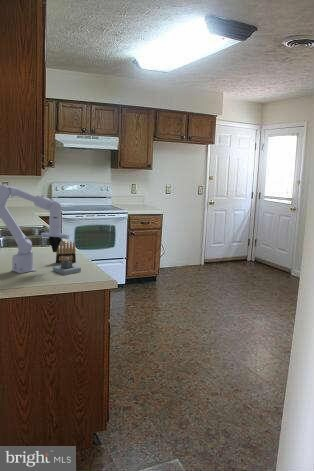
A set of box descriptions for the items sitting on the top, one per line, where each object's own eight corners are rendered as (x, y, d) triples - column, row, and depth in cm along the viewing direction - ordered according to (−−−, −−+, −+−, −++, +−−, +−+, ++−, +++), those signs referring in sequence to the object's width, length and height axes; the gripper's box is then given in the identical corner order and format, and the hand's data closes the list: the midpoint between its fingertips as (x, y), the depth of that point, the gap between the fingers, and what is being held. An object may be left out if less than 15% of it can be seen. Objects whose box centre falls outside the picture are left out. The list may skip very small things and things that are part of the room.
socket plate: (64, 274, 202) (64, 270, 202) (52, 270, 209) (52, 266, 208) (80, 271, 210) (81, 267, 209) (69, 267, 216) (69, 264, 216)
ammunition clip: (75, 261, 231) (75, 240, 229) (75, 262, 229) (76, 241, 227) (55, 262, 226) (55, 241, 224) (56, 263, 225) (56, 241, 223)
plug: (67, 272, 206) (67, 259, 205) (60, 271, 208) (61, 258, 207) (72, 271, 210) (72, 257, 209) (65, 270, 212) (65, 256, 210)
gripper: (38, 225, 205) (38, 251, 207) (64, 227, 201) (64, 254, 204) (45, 223, 212) (45, 249, 214) (71, 225, 208) (70, 252, 210)
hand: (55, 251), depth 209 cm, fingers closed
